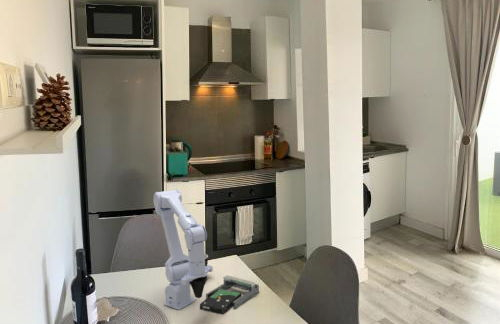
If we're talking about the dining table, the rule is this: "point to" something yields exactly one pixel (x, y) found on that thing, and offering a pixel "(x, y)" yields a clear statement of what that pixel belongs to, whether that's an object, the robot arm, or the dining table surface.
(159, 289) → the dining table surface
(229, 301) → the disk drive
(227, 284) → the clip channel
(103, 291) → the dining table surface
